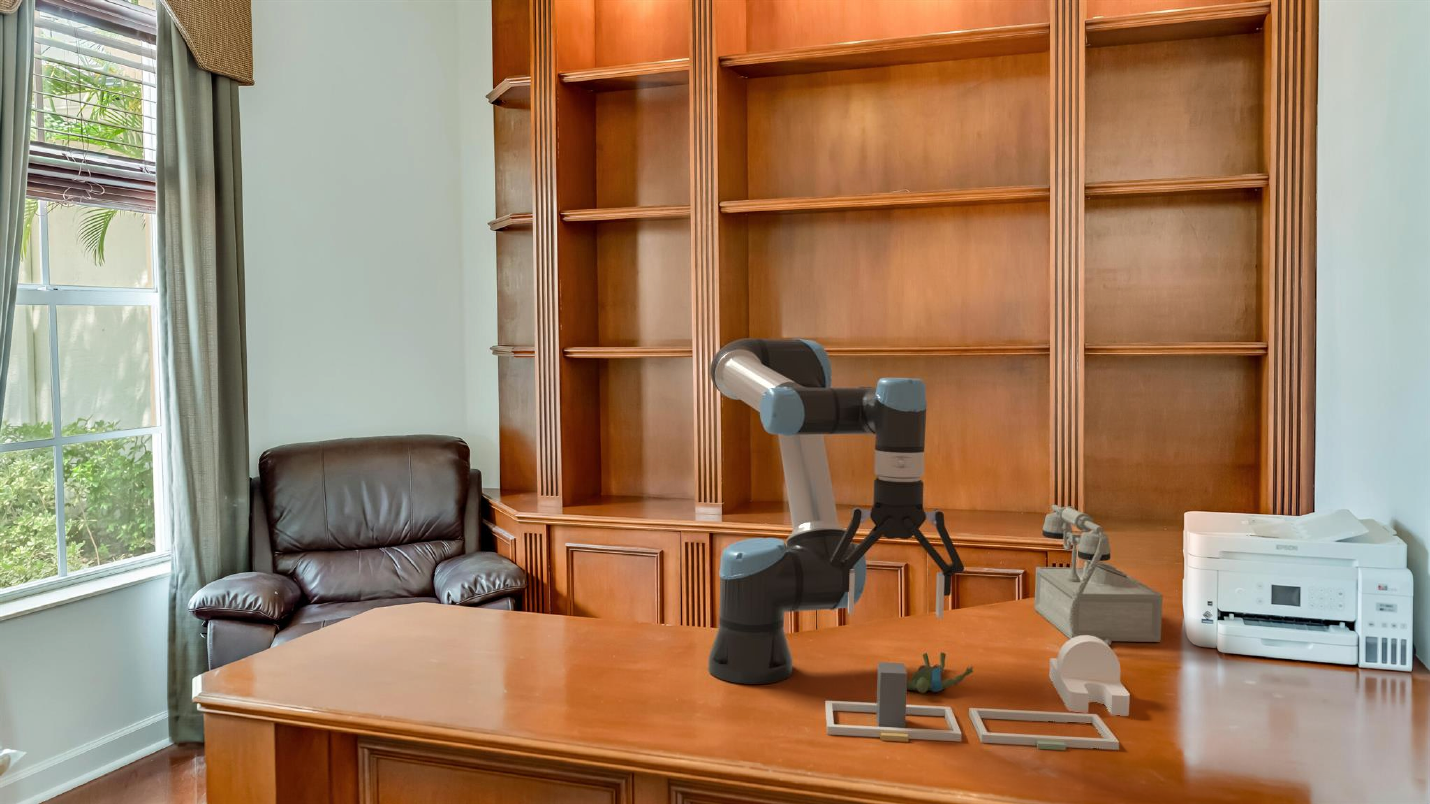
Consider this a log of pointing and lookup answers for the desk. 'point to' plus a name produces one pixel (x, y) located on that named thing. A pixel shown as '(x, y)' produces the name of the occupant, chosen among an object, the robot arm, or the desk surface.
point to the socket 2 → (1042, 740)
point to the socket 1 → (890, 732)
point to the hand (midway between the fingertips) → (894, 614)
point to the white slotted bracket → (1089, 676)
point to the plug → (891, 695)
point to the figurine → (933, 676)
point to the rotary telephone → (1093, 587)
